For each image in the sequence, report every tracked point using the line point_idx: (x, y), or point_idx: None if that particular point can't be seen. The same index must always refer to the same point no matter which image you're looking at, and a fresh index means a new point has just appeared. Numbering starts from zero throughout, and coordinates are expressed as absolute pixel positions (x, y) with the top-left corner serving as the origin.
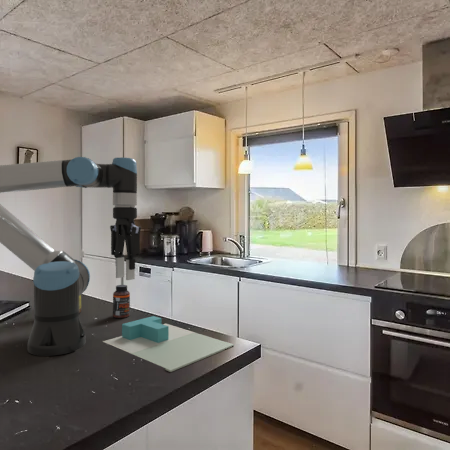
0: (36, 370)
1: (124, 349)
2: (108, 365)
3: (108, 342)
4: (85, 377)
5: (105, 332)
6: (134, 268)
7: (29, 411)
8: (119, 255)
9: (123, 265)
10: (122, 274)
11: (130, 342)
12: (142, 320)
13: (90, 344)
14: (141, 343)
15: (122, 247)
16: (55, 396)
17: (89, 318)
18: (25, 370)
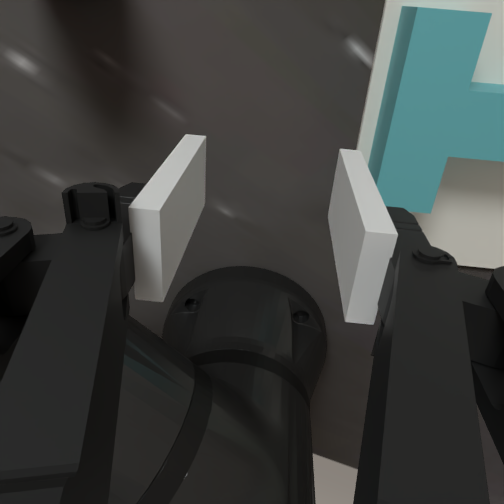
0: (350, 422)
1: (462, 259)
2: None
3: None
4: None
5: (245, 171)
6: (408, 217)
7: (492, 491)
8: (122, 271)
9: (184, 183)
10: (202, 164)
11: (435, 206)
12: (418, 113)
13: (311, 275)
14: (483, 190)
15: (111, 324)
16: (491, 456)
17: (6, 86)
18: (329, 430)
